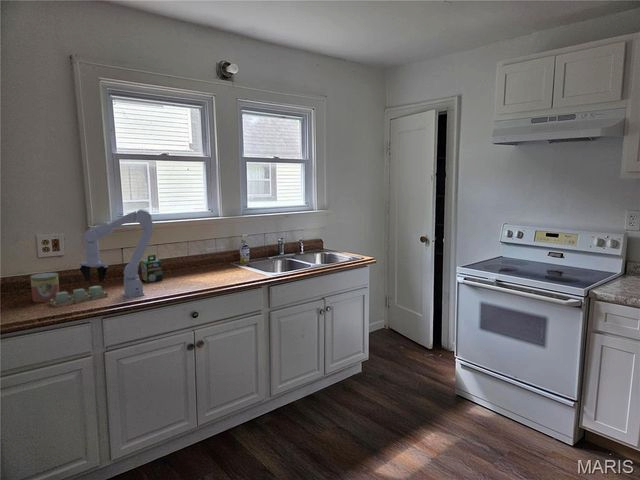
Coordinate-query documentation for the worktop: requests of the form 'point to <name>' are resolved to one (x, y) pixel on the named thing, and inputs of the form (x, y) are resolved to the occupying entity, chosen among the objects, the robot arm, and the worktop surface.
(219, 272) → the worktop surface
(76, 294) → the seated block
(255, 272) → the worktop surface
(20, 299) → the worktop surface
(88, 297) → the rack
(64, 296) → the seated block
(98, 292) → the loose block
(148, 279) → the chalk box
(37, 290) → the canned food
